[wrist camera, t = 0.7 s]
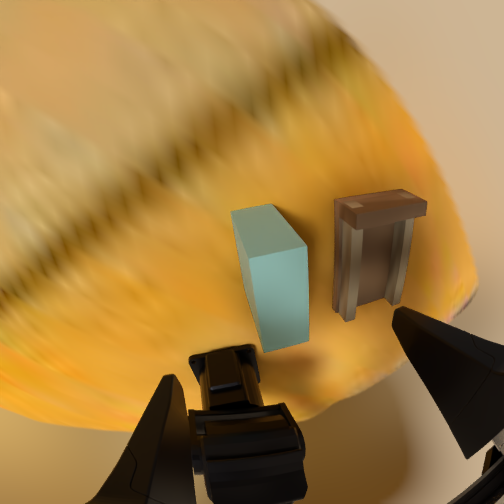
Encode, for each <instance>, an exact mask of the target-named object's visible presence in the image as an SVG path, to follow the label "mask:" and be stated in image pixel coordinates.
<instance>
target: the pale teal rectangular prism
mask: <svg viewBox="0 0 504 504" xmlns="http://www.w3.org/2000/svg"><path fill="white" fill-rule="evenodd" d="M231 217H232V223H233V228H234V234H235V240H236V245H237V251H238V256H239V262H240V267H241V272H242V278H243V283H244V288H245V293H246V296H247V299H248V303H249V306H250V309H251V312H252V316H253V319H254V322H255V325H256V329H257V332H258V335H259V338H260V342H261V345H262V348H263V351H264V353H266V352H270V351H274V350H278V349H282V348H285V347H289V346H293V345H296V344H300V343H304V342H307V341H309V285H308V253H307V245H306V244H305V243H304V241H303V240H302V239H301V238H300V237H299V235H298V234H297V233H296V232H295V231H294V229H293V228H292V227H291V226H290V225H289V223H288V222H287V221H286V220H285V219H284V217H283V216H282V215H281V214H280V213H279V212H278V210H277V209H276V208H275V207H274V206H273V205H272V204H267V205H261V206H256V207H251V208H246V209H241V210H236V211H231Z"/></svg>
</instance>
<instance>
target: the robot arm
mask: <svg viewBox="0 0 504 504" xmlns="http://www.w3.org/2000/svg"><path fill="white" fill-rule="evenodd" d="M392 328H393V330H394V332H395V334H396V336H397V338H398V340H399V342H400V344H401V346H402V348H403V350H404V352H405V354H406V355H407V357H408V359H409V360H410V362H411V364H412V365H413V367H414V368H415V370H416V371H417V373H418V374H419V376H420V378H421V379H422V381H423V382H424V384H425V386H426V388H427V389H428V391H429V393H430V394H431V396H432V398H433V399H434V401H435V403H436V404H437V406H438V408H439V410H440V411H441V413H442V415H443V417H444V418H445V420H446V422H447V424H448V425H449V427H450V429H451V431H452V433H453V435H454V437H455V439H456V441H457V442H458V444H459V446H460V448H461V450H462V452H463V454H464V456H465V458H466V459H469V458H470V457H471V456H473V455H474V454H475V453H476V452H478V451H479V450H480V449H481V448H483V447H484V446H485V445H486V444H487V443H488V442H490V441H491V440H492V441H493V443H494V445H493V446H492V447H491V448H490V449H489V450H488V451H487V452H486V457H485V461H484V466H483V471H482V476H481V477H480V478H479V479H477V480H476V481H475V482H474V483H473V484H472V485H470V486H469V487H468V488H467V489H466V490H465V491H463V492H462V493H461V494H459V495H458V496H457V497H456V498H454V499H453V500H451V501H450V502H449V503H447V504H504V345H501V344H497V343H494V342H491V341H488V340H485V339H483V338H480V337H478V336H475V335H473V334H470V333H468V332H465V331H462V330H460V329H458V328H456V327H453V326H451V325H448V324H446V323H443V322H441V321H439V320H436V319H434V318H431V317H429V316H426V315H424V314H421V313H419V312H417V311H414V310H412V309H409V308H407V307H404V306H402V307H400V308H397V309H395V311H394V315H393V320H392ZM249 349H250V350H249ZM188 360H189V365H190V367H191V369H192V371H193V373H194V375H195V377H196V379H197V381H198V383H199V385H200V389H201V399H202V409H203V410H194V409H188V414H189V416H188V415H187V410H186V404H185V398H184V392H183V388H182V386H181V384H180V382H179V381H178V379H177V377H176V376H175V375H174V374H168V375H164V376H163V377H162V379H161V381H160V383H159V385H158V387H157V389H156V390H155V392H154V394H153V396H152V398H151V400H150V402H149V404H148V406H147V407H146V409H145V411H144V413H143V415H142V417H141V419H140V421H139V423H138V425H137V427H136V428H135V430H134V432H133V434H132V437H131V438H130V440H129V442H128V444H127V446H126V448H125V450H124V452H123V454H122V455H121V457H120V459H119V461H118V463H117V464H116V466H115V468H114V469H113V471H112V472H111V474H110V475H109V477H108V478H107V480H106V481H105V483H104V484H103V486H102V487H101V489H100V490H99V492H98V493H97V494H96V495H95V496H94V497H93V499H91V500H90V501H89V502H87V503H85V504H196V496H195V488H194V478H193V468H194V474H195V475H204V481H205V486H206V491H207V495H208V497H209V499H210V500H211V501H212V502H213V503H214V504H293V503H294V501H297V500H301V499H303V498H304V497H305V494H306V491H307V488H308V486H307V482H306V478H305V473H304V467H303V460H304V458H305V442H304V437H303V435H302V432H301V430H300V428H299V427H298V425H297V423H296V422H295V420H294V418H293V417H292V415H291V413H290V411H289V410H288V408H287V406H286V405H285V403H278V404H276V405H268V406H264V403H263V400H262V396H261V392H260V389H259V385H258V383H260V376H259V371H258V366H257V362H256V357H255V352H254V348H253V346H252V345H245V346H241V347H236V348H231V349H227V350H222V351H217V352H212V353H207V354H201V355H196V356H191V357H189V359H188ZM192 467H193V468H192Z"/></svg>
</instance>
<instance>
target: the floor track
mask: <svg viewBox="0 0 504 504" xmlns="http://www.w3.org/2000/svg"><path fill="white" fill-rule="evenodd" d="M334 205H335V258H334V288H333V307H332V308H333V310H334V311H335V313H338V312H339V314H340V315H341V317H342V318H343V320H344V321H345V322H348V321H351V320H354V319H355V313H356V307H357V306H360V305H363V304H366V303H369V302H372V301H375V300H378V299H381V298H385V299H386V300H387V301H388V302H389V303H390V304H391V305H392V306H393V305H396V304H398V303H400V299H401V295H402V290H403V285H404V281H405V276H406V270H407V265H408V259H409V253H410V247H411V240H412V233H413V225H414V218H416V217H421V216H426V209H427V201H425V200H423V199H421V198H419V197H417V196H415V195H413V194H411V193H409V192H407V191H405V190H403V189H399V190H391V191H384V192H378V193H371V194H364V195H358V196H351V197H345V198H339V199H334Z"/></svg>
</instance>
